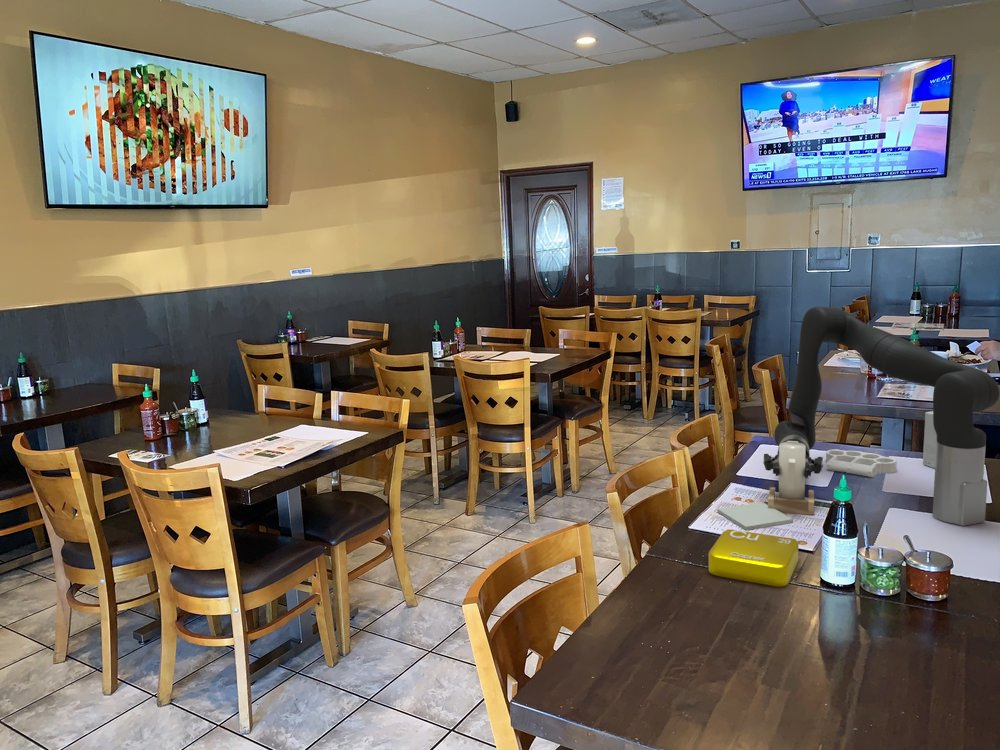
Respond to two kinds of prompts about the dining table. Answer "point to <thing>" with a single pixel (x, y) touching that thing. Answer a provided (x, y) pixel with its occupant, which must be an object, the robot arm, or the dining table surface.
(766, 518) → the plate
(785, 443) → the jug
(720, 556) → the element tile
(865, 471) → the knuckle duster
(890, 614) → the dining table surface
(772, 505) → the holder
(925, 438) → the skincare box
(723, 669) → the dining table surface
